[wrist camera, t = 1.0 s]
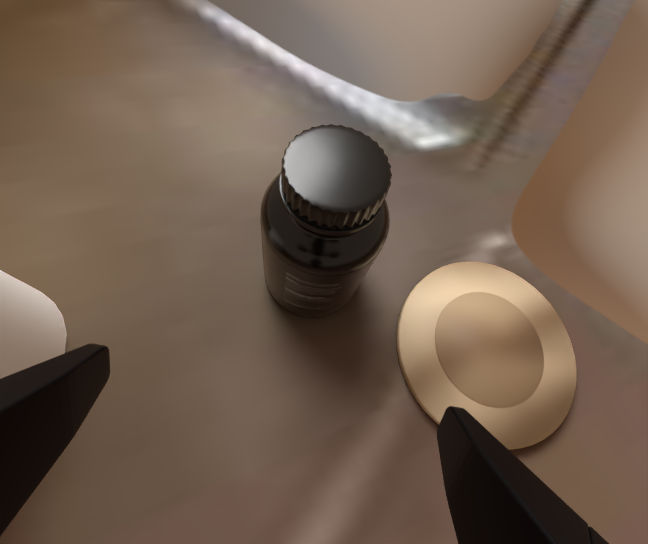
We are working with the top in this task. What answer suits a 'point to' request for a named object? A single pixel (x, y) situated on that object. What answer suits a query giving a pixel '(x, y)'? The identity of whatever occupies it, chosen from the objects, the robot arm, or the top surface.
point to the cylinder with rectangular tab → (27, 326)
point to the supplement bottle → (324, 219)
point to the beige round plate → (487, 352)
